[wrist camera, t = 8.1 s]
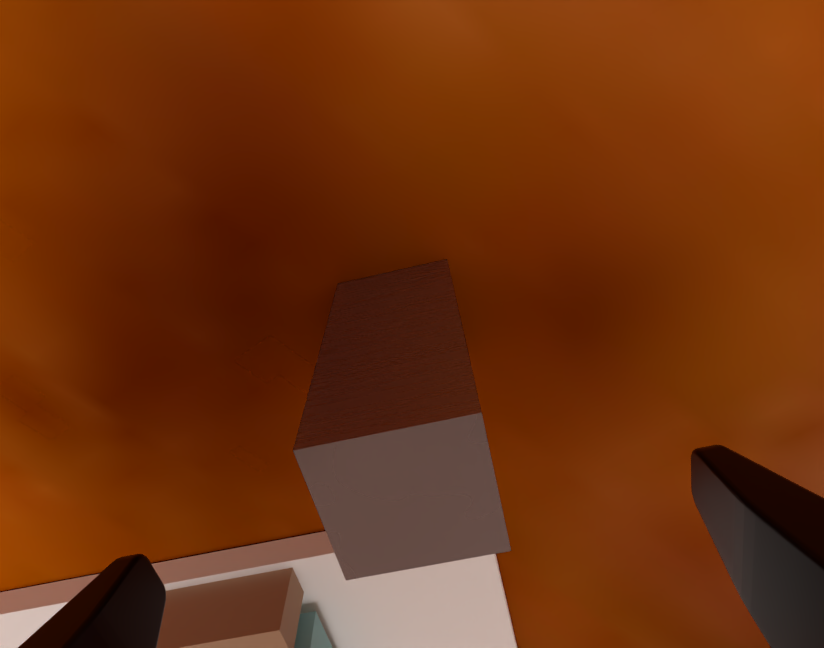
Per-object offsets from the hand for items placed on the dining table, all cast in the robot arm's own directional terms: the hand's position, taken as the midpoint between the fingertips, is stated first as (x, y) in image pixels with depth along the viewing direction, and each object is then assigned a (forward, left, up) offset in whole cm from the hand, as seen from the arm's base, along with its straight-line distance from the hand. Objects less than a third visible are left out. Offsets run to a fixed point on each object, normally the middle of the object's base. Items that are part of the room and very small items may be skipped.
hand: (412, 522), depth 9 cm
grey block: (0, 0, -7) cm, 7 cm away
